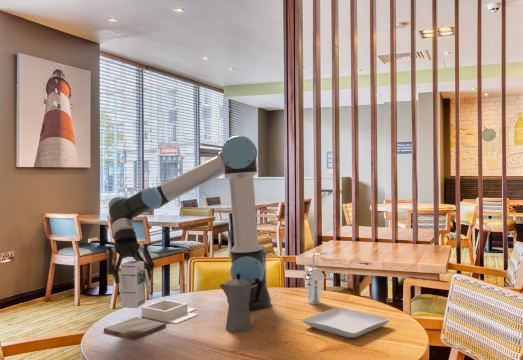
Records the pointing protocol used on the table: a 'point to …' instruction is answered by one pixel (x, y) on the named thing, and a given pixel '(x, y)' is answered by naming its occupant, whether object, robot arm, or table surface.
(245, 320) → the coffeepot
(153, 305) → the open carton
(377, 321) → the salad plate
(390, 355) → the table surface
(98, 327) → the table surface
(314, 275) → the cup with straw
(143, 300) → the syrup box
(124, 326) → the walnut board
